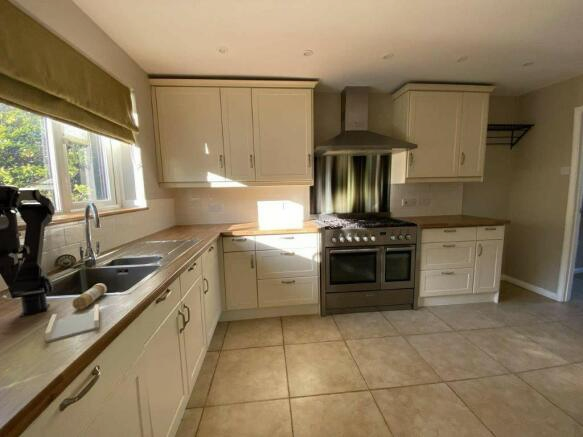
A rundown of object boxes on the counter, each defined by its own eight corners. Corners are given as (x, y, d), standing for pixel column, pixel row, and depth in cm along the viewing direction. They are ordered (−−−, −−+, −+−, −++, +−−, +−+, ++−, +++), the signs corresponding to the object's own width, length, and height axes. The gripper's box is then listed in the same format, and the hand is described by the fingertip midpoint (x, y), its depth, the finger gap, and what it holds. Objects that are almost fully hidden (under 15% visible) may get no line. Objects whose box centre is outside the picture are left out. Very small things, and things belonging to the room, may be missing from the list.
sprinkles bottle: (82, 312, 83) (102, 296, 96) (90, 301, 83) (109, 286, 96) (68, 306, 82) (91, 290, 95) (76, 294, 82) (98, 280, 95)
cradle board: (53, 322, 75) (52, 314, 75) (99, 311, 81) (98, 304, 81) (45, 342, 65) (44, 333, 64) (99, 328, 71) (98, 319, 71)
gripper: (-29, 230, 71) (-22, 282, 73) (-63, 239, 56) (-52, 305, 58) (27, 226, 78) (33, 274, 79) (9, 233, 63) (17, 292, 65)
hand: (10, 285), depth 70 cm, fingers closed
